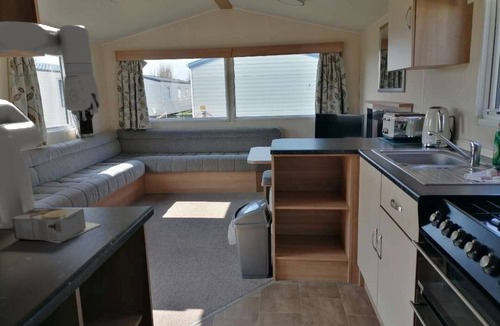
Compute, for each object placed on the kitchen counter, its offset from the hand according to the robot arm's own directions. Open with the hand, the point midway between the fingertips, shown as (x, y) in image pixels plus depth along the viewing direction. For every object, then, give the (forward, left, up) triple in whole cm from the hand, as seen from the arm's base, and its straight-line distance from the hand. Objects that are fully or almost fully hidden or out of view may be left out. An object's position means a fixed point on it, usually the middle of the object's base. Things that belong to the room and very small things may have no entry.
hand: (87, 133), depth 109 cm
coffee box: (+4, -11, -24) cm, 27 cm away
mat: (-4, -10, -28) cm, 29 cm away
